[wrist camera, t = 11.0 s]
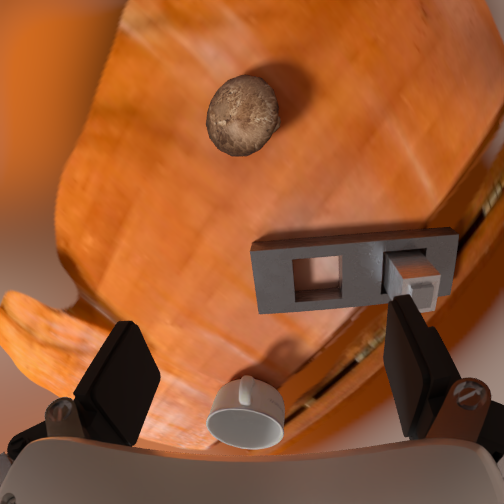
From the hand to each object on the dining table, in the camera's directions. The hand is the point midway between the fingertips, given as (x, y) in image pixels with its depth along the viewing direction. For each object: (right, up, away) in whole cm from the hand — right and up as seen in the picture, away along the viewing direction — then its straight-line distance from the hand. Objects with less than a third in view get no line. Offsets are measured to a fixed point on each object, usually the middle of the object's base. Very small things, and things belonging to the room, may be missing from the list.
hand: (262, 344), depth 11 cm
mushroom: (-1, +17, +20) cm, 26 cm away
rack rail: (+12, +2, +25) cm, 28 cm away
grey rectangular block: (+17, +2, +25) cm, 30 cm away
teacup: (0, -17, +35) cm, 39 cm away
